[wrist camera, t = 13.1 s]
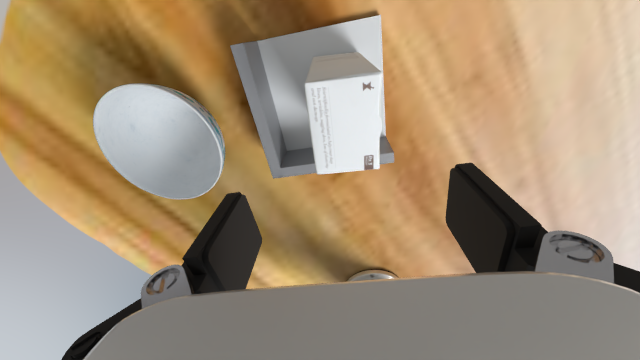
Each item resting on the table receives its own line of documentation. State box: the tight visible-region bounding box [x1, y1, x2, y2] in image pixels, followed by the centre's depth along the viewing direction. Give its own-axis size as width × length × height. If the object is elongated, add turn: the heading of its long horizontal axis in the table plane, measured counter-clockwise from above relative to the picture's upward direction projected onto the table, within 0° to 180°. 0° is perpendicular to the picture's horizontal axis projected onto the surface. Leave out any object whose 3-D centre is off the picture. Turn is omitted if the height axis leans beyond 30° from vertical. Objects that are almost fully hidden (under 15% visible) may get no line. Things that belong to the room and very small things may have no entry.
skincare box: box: [304, 52, 383, 174], centre depth 25 cm, size 8×6×15 cm
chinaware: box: [93, 84, 225, 199], centre depth 33 cm, size 15×15×8 cm
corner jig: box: [230, 15, 394, 179], centre depth 30 cm, size 16×16×6 cm
